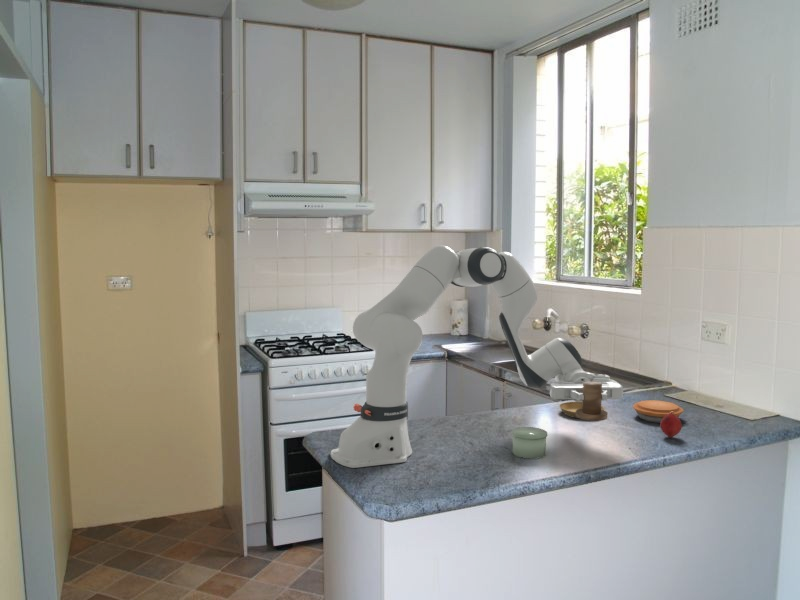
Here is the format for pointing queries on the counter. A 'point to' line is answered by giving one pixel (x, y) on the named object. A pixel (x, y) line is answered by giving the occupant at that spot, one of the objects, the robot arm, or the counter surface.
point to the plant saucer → (572, 408)
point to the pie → (656, 410)
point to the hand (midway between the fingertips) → (593, 397)
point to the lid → (592, 403)
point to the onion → (671, 425)
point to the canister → (529, 442)
